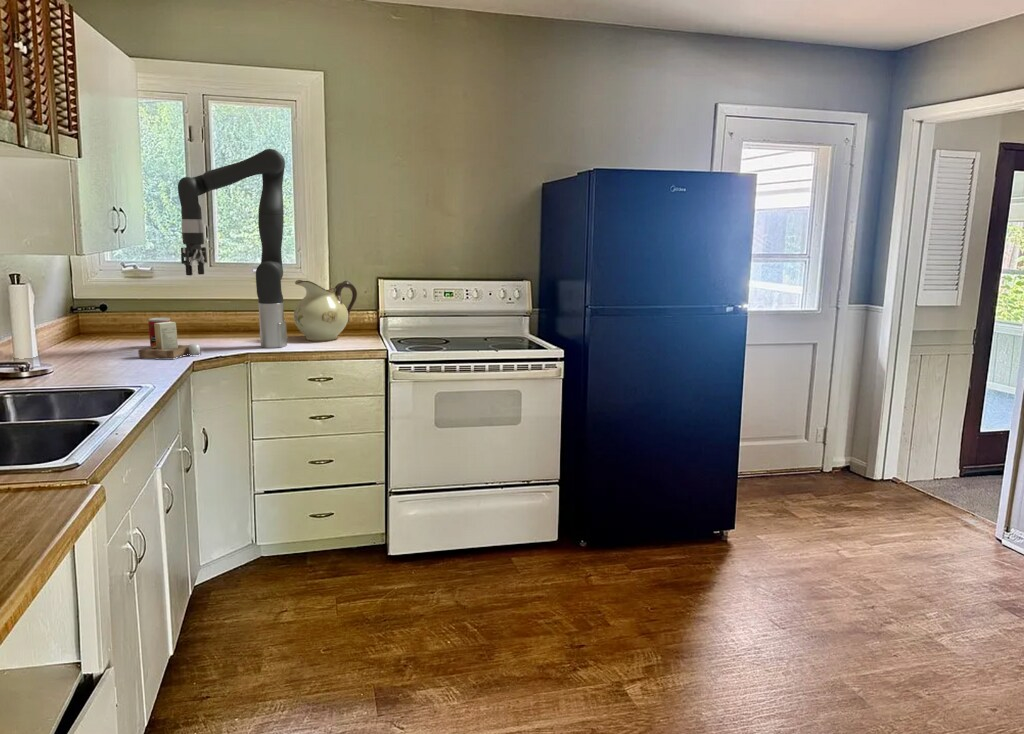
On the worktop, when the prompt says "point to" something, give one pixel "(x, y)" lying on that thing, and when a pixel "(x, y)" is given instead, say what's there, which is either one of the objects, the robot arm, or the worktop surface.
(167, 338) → the skincare box
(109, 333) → the worktop surface
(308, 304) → the pitcher
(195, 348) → the grey round ball
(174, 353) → the holder
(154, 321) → the canned food
